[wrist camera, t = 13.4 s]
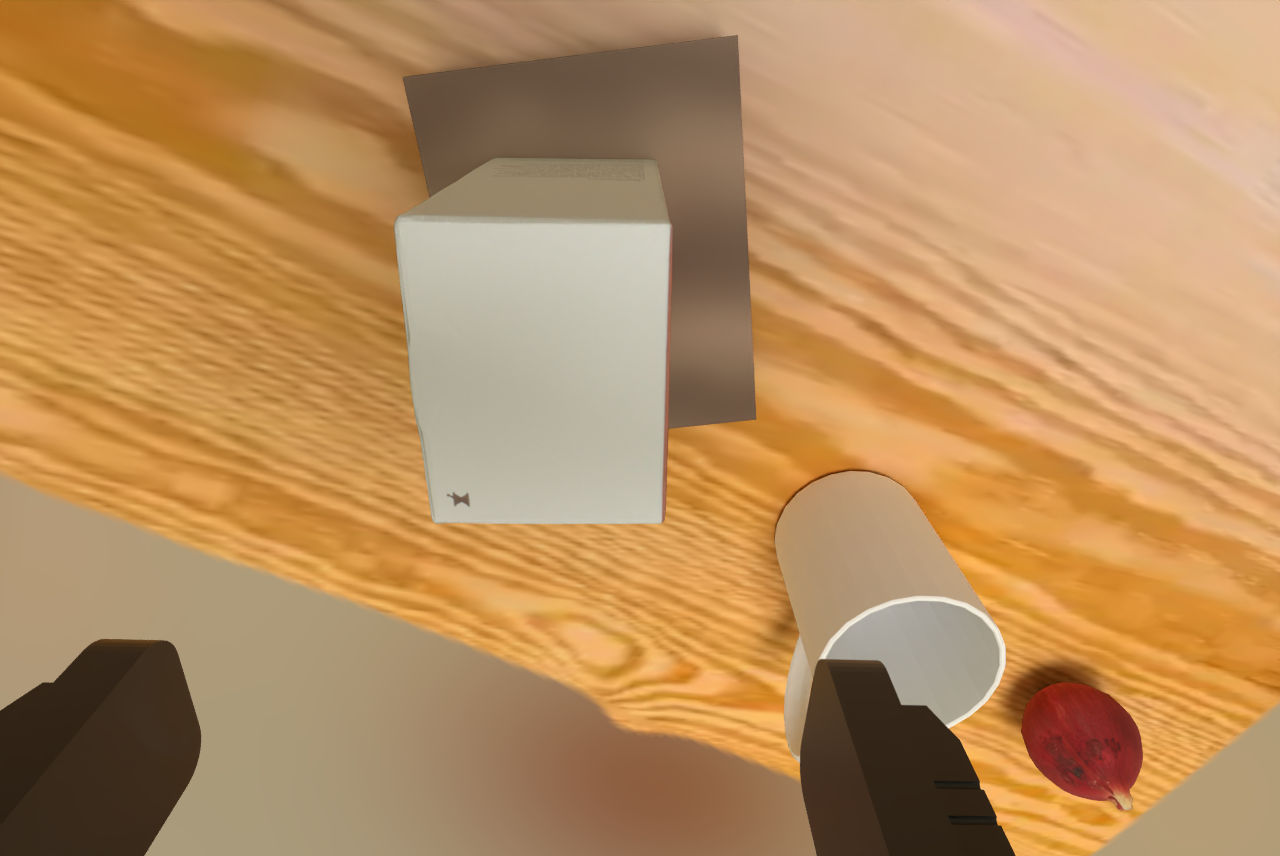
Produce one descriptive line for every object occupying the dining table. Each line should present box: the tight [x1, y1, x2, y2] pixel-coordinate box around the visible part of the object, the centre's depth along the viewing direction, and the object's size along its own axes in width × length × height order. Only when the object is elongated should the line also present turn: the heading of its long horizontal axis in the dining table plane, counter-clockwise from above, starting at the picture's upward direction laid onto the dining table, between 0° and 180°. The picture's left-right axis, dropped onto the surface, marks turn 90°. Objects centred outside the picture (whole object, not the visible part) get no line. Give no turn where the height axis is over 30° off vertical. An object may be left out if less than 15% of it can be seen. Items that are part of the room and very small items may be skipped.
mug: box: [774, 471, 1006, 762], centre depth 37 cm, size 12×8×10 cm, turn 154°
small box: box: [394, 158, 673, 524], centre depth 24 cm, size 8×6×13 cm
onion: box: [1021, 682, 1143, 811], centre depth 42 cm, size 6×6×8 cm
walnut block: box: [403, 35, 756, 429], centre depth 32 cm, size 15×12×5 cm
